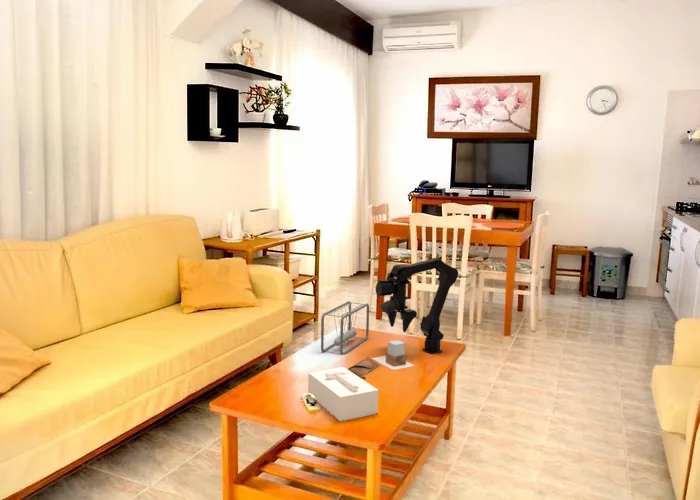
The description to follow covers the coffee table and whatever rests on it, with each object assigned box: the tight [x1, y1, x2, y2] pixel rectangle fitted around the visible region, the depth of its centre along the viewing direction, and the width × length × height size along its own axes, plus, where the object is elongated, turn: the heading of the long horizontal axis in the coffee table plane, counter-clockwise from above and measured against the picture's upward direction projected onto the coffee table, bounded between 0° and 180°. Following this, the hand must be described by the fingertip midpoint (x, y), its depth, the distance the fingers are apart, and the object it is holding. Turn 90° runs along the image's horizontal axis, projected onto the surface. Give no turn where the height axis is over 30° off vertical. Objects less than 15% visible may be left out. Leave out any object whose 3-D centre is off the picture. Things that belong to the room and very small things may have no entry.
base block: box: [385, 352, 407, 367], centre depth 252 cm, size 6×6×4 cm
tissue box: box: [307, 366, 379, 422], centre depth 212 cm, size 14×25×11 cm, turn 28°
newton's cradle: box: [320, 300, 370, 356], centre depth 277 cm, size 30×10×18 cm, turn 155°
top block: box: [387, 339, 406, 357], centre depth 252 cm, size 5×5×5 cm
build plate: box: [371, 355, 415, 371], centre depth 254 cm, size 11×16×1 cm
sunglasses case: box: [347, 356, 382, 380], centre depth 246 cm, size 18×7×7 cm
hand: (398, 329), depth 263 cm, fingers open, 9 cm apart
